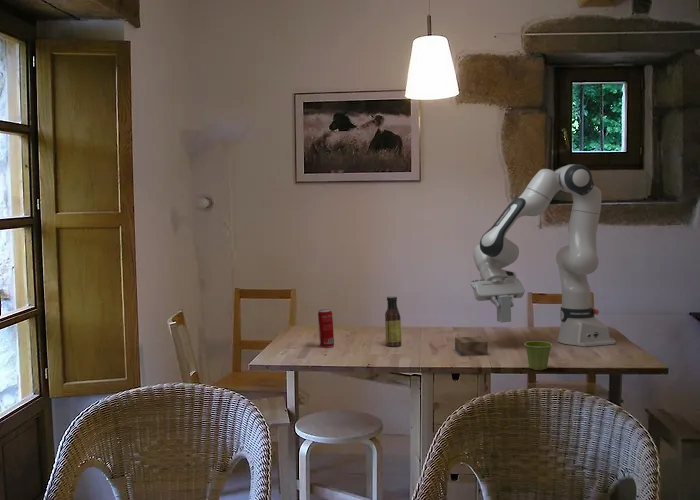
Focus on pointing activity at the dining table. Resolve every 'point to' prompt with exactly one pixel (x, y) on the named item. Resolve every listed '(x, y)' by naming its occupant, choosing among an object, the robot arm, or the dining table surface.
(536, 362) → the plant pot
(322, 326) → the beverage can
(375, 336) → the dining table surface
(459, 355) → the grey mat
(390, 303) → the sauce bottle
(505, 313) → the pillar block
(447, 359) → the dining table surface
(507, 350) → the dining table surface
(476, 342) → the walnut base block
